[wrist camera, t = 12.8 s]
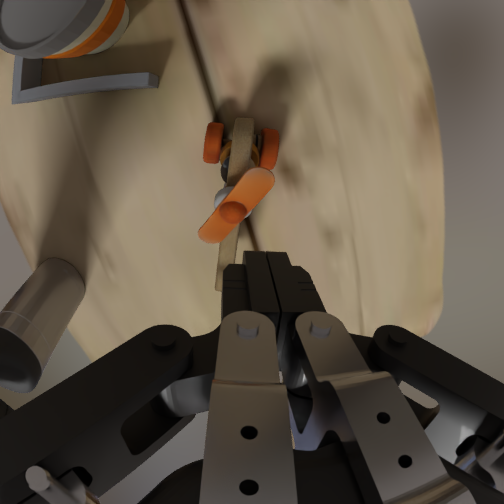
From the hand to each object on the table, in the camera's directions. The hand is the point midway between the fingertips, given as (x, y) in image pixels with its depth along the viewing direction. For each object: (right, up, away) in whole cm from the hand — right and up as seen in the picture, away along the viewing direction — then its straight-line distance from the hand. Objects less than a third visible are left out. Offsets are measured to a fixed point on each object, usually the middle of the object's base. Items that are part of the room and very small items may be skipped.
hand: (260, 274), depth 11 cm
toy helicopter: (-3, +9, +28) cm, 30 cm away
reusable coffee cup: (-20, +30, +16) cm, 39 cm away
